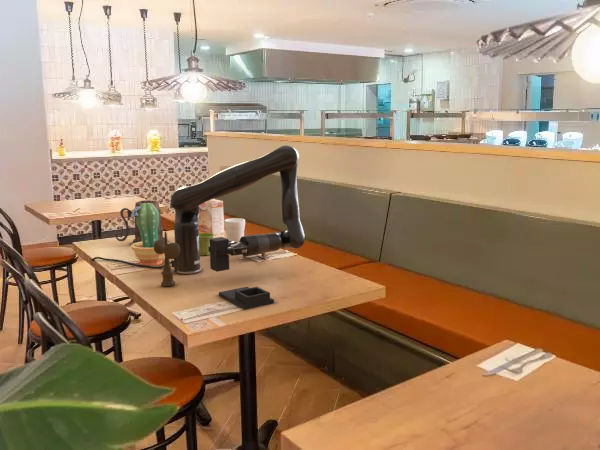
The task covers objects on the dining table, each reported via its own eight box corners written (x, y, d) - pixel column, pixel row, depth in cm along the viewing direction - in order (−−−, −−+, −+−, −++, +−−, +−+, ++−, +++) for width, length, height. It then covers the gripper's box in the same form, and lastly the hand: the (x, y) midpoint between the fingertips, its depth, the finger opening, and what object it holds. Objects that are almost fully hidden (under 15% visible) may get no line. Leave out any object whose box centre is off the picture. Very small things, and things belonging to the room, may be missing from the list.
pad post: (210, 268, 206) (209, 238, 204) (223, 266, 209) (222, 236, 207) (216, 271, 202) (215, 241, 200) (229, 269, 205) (228, 239, 203)
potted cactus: (144, 257, 247) (140, 199, 242) (177, 259, 244) (174, 201, 239) (124, 266, 232) (120, 205, 227) (159, 268, 229) (155, 207, 224)
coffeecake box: (196, 237, 287) (194, 198, 284) (209, 235, 292) (207, 197, 288) (212, 242, 277) (210, 202, 273) (225, 240, 281) (223, 200, 278)
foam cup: (226, 245, 270) (225, 218, 267) (246, 245, 270) (245, 218, 268) (224, 250, 260) (223, 222, 258) (244, 249, 261) (244, 221, 259)
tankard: (162, 237, 285) (160, 198, 281) (171, 244, 271) (169, 202, 267) (113, 243, 274) (110, 201, 270) (119, 250, 259) (116, 206, 256)
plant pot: (188, 255, 251) (187, 236, 249) (201, 250, 259) (200, 232, 257) (206, 257, 247) (206, 237, 245) (219, 252, 256) (218, 233, 254)
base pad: (218, 295, 196) (218, 285, 195) (247, 289, 202) (247, 279, 202) (244, 309, 182) (243, 298, 181) (274, 302, 188) (273, 292, 188)
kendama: (166, 290, 201) (164, 234, 198) (154, 284, 208) (151, 230, 204) (182, 286, 205) (179, 232, 202) (169, 281, 212) (166, 228, 209)
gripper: (245, 231, 217) (203, 237, 207) (264, 238, 206) (221, 244, 196) (245, 250, 219) (204, 257, 209) (264, 258, 208) (221, 265, 197)
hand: (212, 251), depth 202 cm, fingers closed on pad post, 5 cm apart
